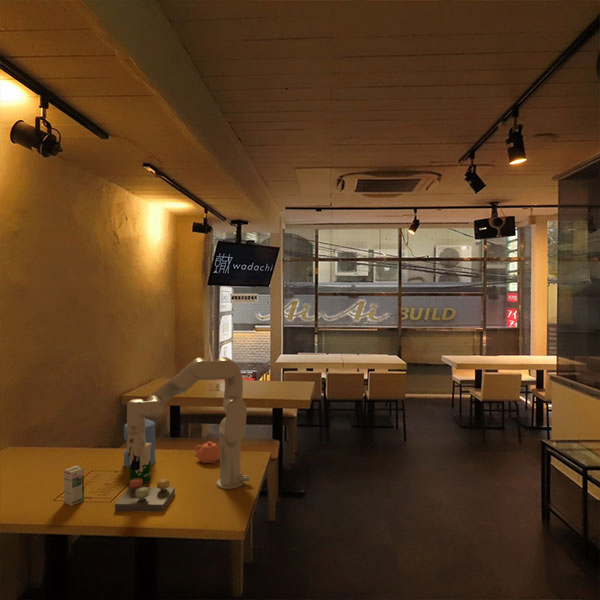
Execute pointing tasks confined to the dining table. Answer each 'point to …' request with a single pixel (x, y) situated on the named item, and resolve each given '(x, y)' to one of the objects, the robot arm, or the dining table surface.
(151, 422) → the water jug
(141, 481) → the red rounded lump
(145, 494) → the pale green ball
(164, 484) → the tan rounded piece
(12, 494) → the dining table surface
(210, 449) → the sugar bowl
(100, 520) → the dining table surface
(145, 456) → the milk carton
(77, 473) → the syrup box
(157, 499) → the plate
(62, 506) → the dining table surface
